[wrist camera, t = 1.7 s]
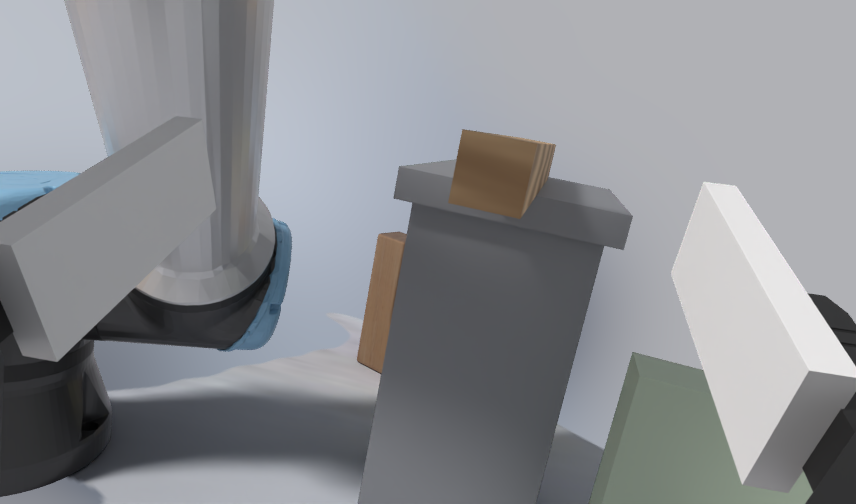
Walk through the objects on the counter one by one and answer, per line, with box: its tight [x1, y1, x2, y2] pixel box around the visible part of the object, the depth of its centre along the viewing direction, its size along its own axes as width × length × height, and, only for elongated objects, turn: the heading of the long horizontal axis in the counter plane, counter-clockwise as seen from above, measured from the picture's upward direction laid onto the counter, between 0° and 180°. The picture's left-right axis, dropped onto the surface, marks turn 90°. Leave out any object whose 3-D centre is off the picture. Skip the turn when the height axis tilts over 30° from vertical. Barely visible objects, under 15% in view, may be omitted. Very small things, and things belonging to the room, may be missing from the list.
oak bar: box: [448, 130, 556, 219], centre depth 36 cm, size 28×3×3 cm, turn 166°
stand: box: [358, 159, 633, 504], centre depth 46 cm, size 20×14×30 cm
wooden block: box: [357, 232, 407, 373], centre depth 74 cm, size 9×4×18 cm, turn 55°
